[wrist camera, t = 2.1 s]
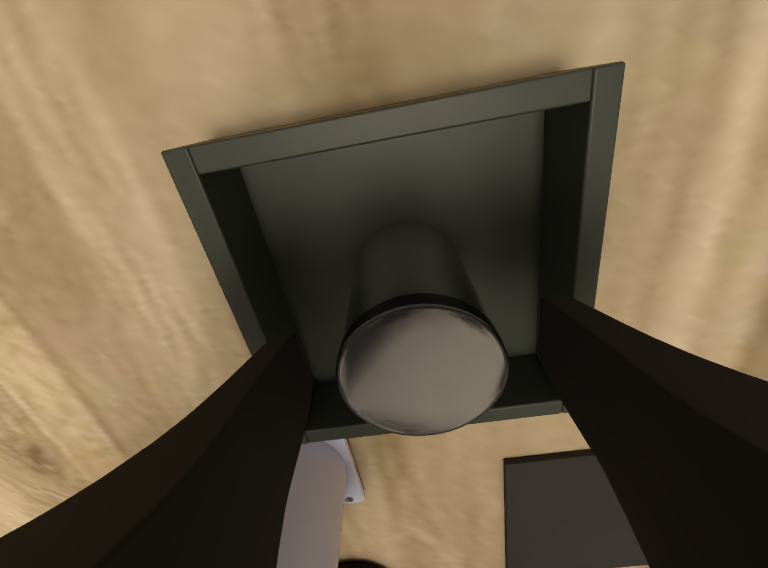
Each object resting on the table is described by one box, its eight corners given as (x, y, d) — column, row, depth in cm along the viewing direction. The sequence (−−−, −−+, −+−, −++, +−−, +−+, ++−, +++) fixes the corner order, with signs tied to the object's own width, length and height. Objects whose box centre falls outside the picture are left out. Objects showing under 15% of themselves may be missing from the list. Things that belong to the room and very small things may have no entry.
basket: (306, 388, 19) (291, 445, 16) (213, 138, 13) (159, 151, 10) (547, 357, 18) (582, 411, 15) (563, 70, 12) (627, 60, 9)
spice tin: (365, 321, 16) (355, 444, 10) (343, 228, 14) (315, 319, 8) (464, 306, 16) (509, 426, 10) (456, 209, 14) (508, 291, 8)
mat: (505, 570, 28) (507, 576, 28) (503, 459, 21) (505, 465, 21) (690, 555, 27) (695, 561, 26) (747, 432, 20) (753, 438, 20)
